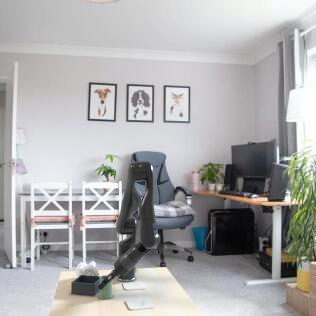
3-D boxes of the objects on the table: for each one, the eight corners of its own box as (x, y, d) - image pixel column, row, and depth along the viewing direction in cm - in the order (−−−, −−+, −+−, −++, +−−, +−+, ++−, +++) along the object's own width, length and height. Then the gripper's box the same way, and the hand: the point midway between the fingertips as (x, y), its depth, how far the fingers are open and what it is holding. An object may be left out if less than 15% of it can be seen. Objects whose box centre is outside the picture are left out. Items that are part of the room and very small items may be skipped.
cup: (101, 293, 166) (101, 274, 166) (113, 294, 165) (114, 275, 165) (97, 298, 160) (97, 278, 160) (109, 299, 159) (110, 279, 159)
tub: (80, 285, 176) (81, 274, 176) (102, 287, 174) (102, 276, 174) (71, 294, 164) (71, 282, 165) (94, 296, 162) (94, 284, 163)
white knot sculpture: (78, 275, 191) (78, 259, 191) (100, 275, 192) (100, 259, 192) (74, 282, 180) (75, 265, 180) (98, 282, 181) (98, 265, 181)
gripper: (126, 253, 167) (104, 275, 171) (114, 260, 154) (90, 284, 157) (137, 265, 166) (113, 287, 169) (125, 274, 152) (100, 297, 155)
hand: (102, 285), depth 163 cm, fingers closed on cup, 6 cm apart
